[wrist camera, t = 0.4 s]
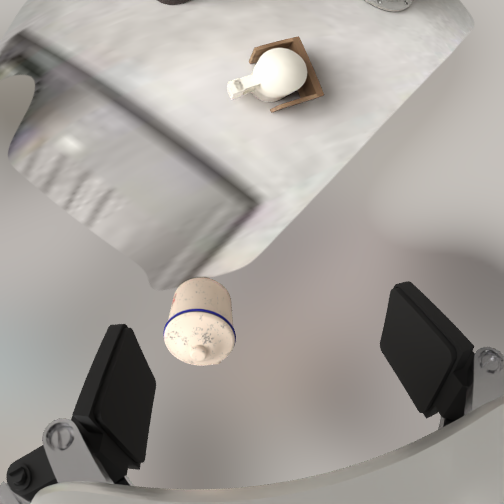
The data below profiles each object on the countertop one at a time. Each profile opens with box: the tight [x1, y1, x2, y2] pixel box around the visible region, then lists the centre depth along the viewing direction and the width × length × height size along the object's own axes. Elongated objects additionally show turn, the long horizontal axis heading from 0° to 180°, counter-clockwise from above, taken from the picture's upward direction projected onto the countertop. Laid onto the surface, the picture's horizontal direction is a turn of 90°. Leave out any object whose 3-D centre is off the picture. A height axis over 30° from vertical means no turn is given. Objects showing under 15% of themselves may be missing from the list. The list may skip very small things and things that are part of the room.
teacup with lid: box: [164, 278, 236, 366], centre depth 37 cm, size 12×9×12 cm
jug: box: [227, 48, 307, 102], centre depth 26 cm, size 8×5×8 cm, turn 112°
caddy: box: [249, 37, 324, 112], centre depth 27 cm, size 5×7×6 cm
